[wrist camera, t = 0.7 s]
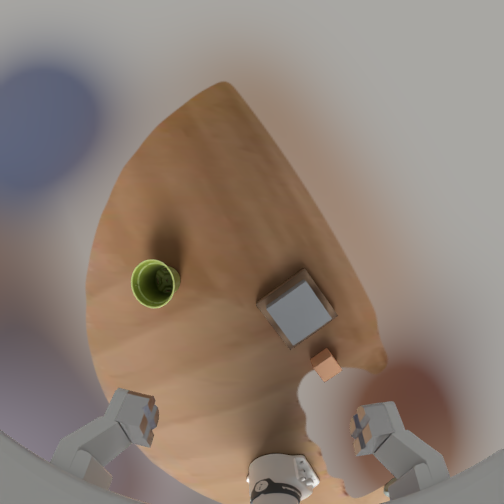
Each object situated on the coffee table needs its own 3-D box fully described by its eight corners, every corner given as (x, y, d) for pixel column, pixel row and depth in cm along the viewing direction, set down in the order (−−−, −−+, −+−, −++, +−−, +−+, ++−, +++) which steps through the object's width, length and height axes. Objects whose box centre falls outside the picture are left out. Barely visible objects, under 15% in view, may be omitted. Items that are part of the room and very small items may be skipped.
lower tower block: (333, 312, 56) (337, 315, 52) (289, 344, 56) (290, 349, 53) (302, 267, 56) (304, 268, 53) (256, 301, 57) (255, 304, 53)
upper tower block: (328, 314, 53) (332, 318, 49) (291, 340, 53) (293, 345, 49) (303, 279, 53) (306, 281, 49) (266, 305, 53) (266, 309, 50)
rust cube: (337, 361, 55) (342, 370, 50) (320, 372, 56) (324, 382, 51) (326, 347, 56) (331, 355, 51) (310, 359, 56) (313, 368, 51)
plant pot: (146, 260, 58) (127, 262, 49) (184, 255, 57) (171, 256, 49) (152, 302, 58) (134, 309, 49) (190, 298, 57) (178, 306, 49)
